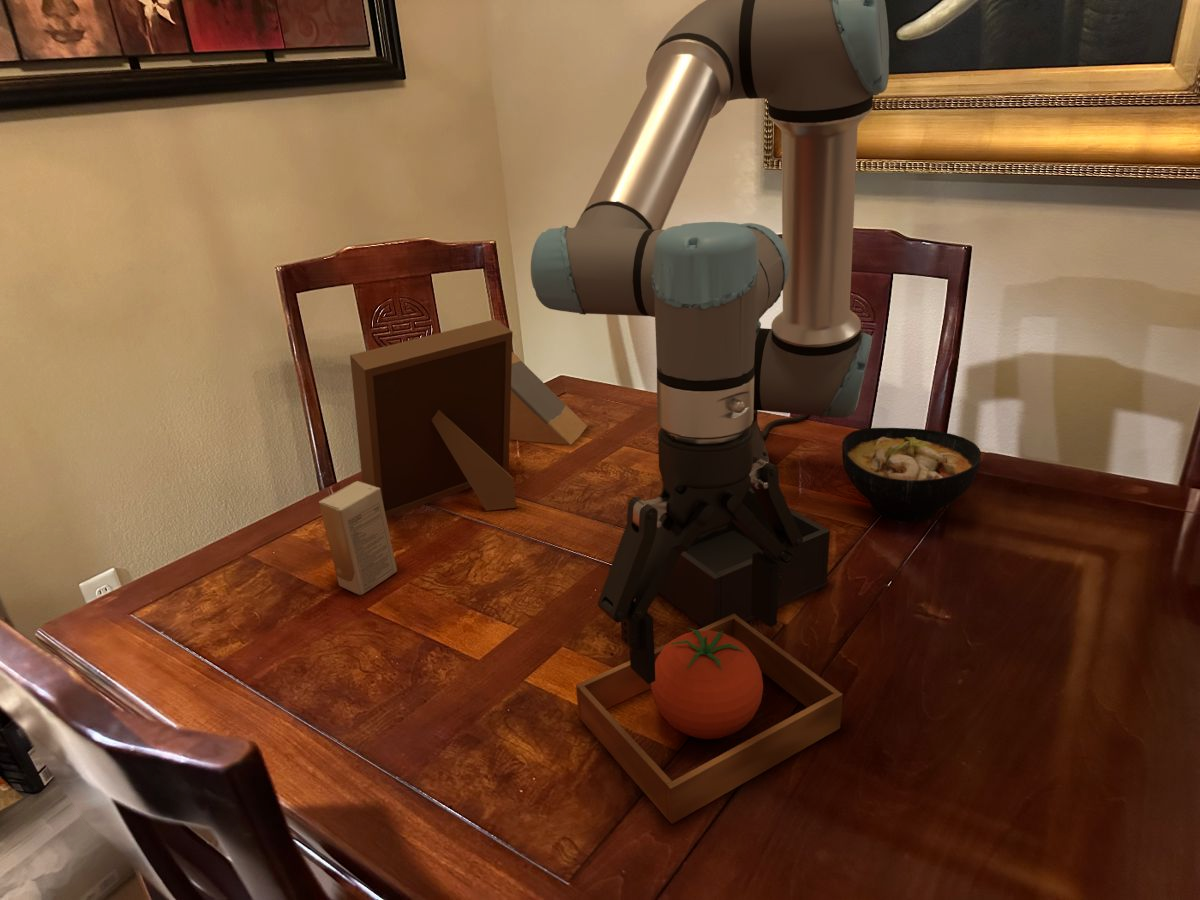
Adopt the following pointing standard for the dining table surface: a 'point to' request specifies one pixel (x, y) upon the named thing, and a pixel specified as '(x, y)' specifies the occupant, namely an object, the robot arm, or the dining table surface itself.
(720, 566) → the black square bin
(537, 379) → the sandwich container
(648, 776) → the box
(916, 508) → the bowl
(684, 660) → the tomato
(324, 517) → the cosmetic box
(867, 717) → the dining table surface
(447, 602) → the dining table surface
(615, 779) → the dining table surface
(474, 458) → the photo frame
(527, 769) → the dining table surface
